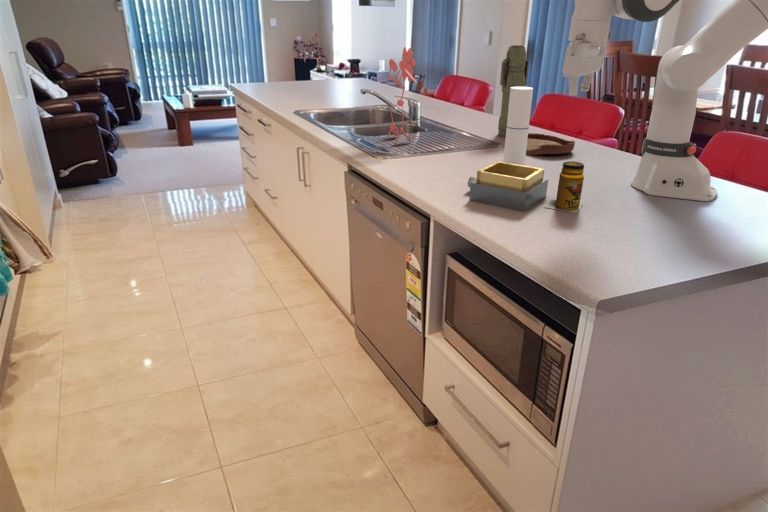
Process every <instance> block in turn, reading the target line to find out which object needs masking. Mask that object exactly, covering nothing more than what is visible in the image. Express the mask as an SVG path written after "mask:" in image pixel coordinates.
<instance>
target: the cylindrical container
mask: <svg viewBox="0 0 768 512" xmlns="http://www.w3.org/2000/svg"><path fill="white" fill-rule="evenodd" d="M533 93H534V88H533V87H530V86H525V87H511V88H510V98H509V108H508V118H507V129H506V137H505V141H504V149H503V150H504V151H503V161H502V162H505V163H511V164H517V165H523V166H526V165H525V164H526V156H527V154H526V148H527V139H528V133H529V131H530V130H529V129H530V128H529V127H530V121H531V112H532V104H533V103H532V102H533Z"/></svg>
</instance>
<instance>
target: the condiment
mask: <svg viewBox="0 0 768 512" xmlns="http://www.w3.org/2000/svg"><path fill="white" fill-rule="evenodd" d="M584 168H585V165H584V163H583V162H580V161H569V160H568V161H564V162H563V163H562V168H561V172H560V173H559V177H558V184H557V191H556V199H550V200H549V202H547V204H546V205H545V206H544V208H545V209H553V210H557V211H558V210H559V211H561V212H562V211H563V212H568V213H574V214H575V213H577V214H578V212H579V211H580V210H581V208H582V206H583V204H581V197H582V192H583V185H584V179H585V175H584V170H585V169H584Z"/></svg>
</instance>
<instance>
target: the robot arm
mask: <svg viewBox="0 0 768 512" xmlns="http://www.w3.org/2000/svg"><path fill="white" fill-rule="evenodd" d="M679 1H680V0H574V11H573V13H572V16H571V19H570V20H571V21H570V26H569V33H568V34H569V35H568V41H569V44H567V47H566V52H565V57H564V60H563V66H562V76H563V77H565V78H568V80H567V81H568V83H567V84H568V96H572V97H575V96H578V94H579V86H578V85H579V81H580V77H583V79H582V83H581V85H580V91H581V92H583V93H584V92H585V93H586V92H589V90H590V85H591V83H592V80H593V78H594V73H597V72H600V70H601V68H602V66H603V64H604V61H605V54H606V53H607V52H606V51H607V46H608V42H610V40H611V37H612V31H611V29H610V26H611V20H612V18H613V16H615V17H618V18H619V19H624V20H633V21H639V22H641V23H650V22H654V21H656V20H659V19H660V18H662V17H663V16H665V15H666V14H667V13H668V12H669V11H671V10H672V8H673V7H674V6H675V5H676V4H678V2H679ZM767 30H768V0H732V1H731V2H730V3H729V4H728V5H726V6H725V7H724V8H722V10H720V11H719V12H718V13H717V14H716V15H714V16H713V17H712V18H710V19H709V20H708V22H707V23H706V24H705V25H704V26H703V27H702V28H701V29H700V30H699V31H698V32H696V34H694V35H693V36H692V37H691V38H690V39H689V40H688V41H687V42H686V43H684V44H683V45H677V46H674V47H672V48H670V49H668V51H666V52H665V53H664V54H663V55H662V57H661V58H660V61H659V63H658V68H657V71H656V78H655V79H656V80H655V86H654V91H653V92H654V94H653V99H652V109H651V114H650V117H649V118H650V119H649V123H648V128H647V132H646V137H644V140H643V142H642V147H641V153H640V154H641V155H640V156H641V159H640V161H639V165H638V166H637V169H636V172H635V174H634V177H633V178H632V181H631V182H630V185H631V186H632V187H634V188H635V189H637V190H640V191H641V192H642V191H643V192H644V193H645V194H647V195H650V196H657V197H665V198H673V199H674V198H675V199H683V200H691V201H697V202H699V201H700V202H709V201H713V200H714V199H715V198H716V197H717V195H718V194H717V193H718V190H717V189H716V187H713V186H711V173H710V171H709V169H708V168H707V167H706V166H705V165H704V164H703V163H702V162H701V161H700V160H699V159H698V158H697V157H696V156H695V153H696V152H697V144H696V143H693V142H692V141H690V139H691V135H692V131H693V127H694V122H695V118H696V113H697V101H698V94H699V88H701V87H702V86H704V85H705V83H706V82H707V81H708V80H710V79H711V78H712V77H713V76H714V75H715V74H716V73H718V71H720V70H721V69H722V68H723V67H725V65H726V64H727V63H728V62H729V61H730V60H731V59H732V58H733V57H734V56H735V55H737V54H738V53H739V52H740V51H742V49H744V48H745V47H746V46H748V45H749V44H751V42H753V41H754V40H755V39H756V38H758V37H759V36H761V35H762V34H763V33H764V32H766V31H767Z"/></svg>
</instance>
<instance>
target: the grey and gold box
mask: <svg viewBox="0 0 768 512" xmlns="http://www.w3.org/2000/svg"><path fill="white" fill-rule="evenodd" d="M544 174H545V168H542V167H535V166H530V165H529V166H528V165H524V166H523V165H517V164H511V163H505V162H503V161H498V160H497V161H495V162H492V163H491V164H489V165H487V166H485V167H483V168H481V169H479V170H477V172H476V177H474V176H469V178H468V180H467V187H468V188H469V198H468V199H469V201H472V202H477V203H480V204H481V203H482V204H487V205H490V206H495V207H500V208H505V209H510V210H515V211H519V212H527V210H529V209H530V208H532V207H533V206H534V205H536V204H537V203H538V202H540V201H541V200H543V199H544V198H546V197H547V192H548V185H549V178H546V177H544Z"/></svg>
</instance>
